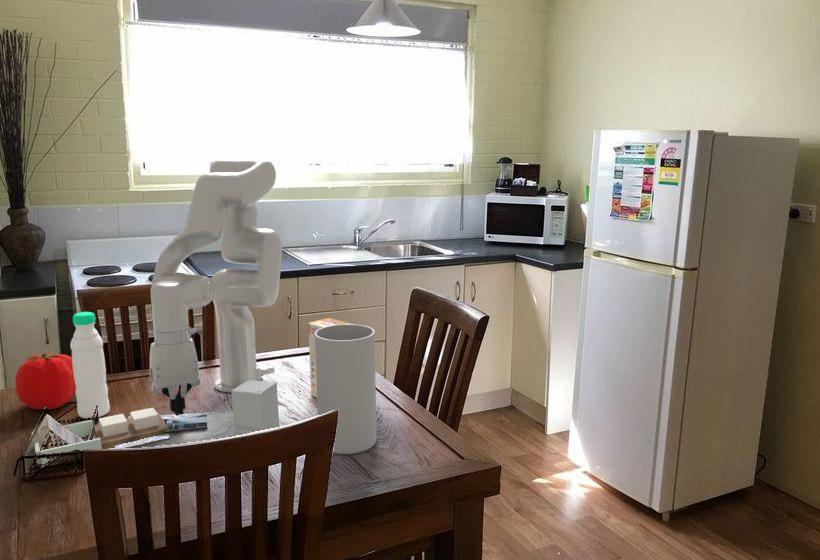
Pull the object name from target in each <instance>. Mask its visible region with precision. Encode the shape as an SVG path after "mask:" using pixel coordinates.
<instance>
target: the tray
mask: <svg viewBox="0 0 820 560" xmlns="http://www.w3.org/2000/svg"><path fill="white" fill-rule="evenodd" d="M93 422H94V421H93V419H89V420H88V419H87V420H83V421H78V422H74V423H70V424H64V425H62V426H63V427H64V428H66V429H68V430H69V431H71V432H72V433H74V434H76V435H78V436H81V437H85V435H88V434H89V432H90V429H91V427H92V425H94V423H93ZM33 432H34V431H31V435H32V434H33ZM49 434H50V436H51V437H53V436H54V435H53V433H51V432H50V433H49ZM76 449H77V450H86V449H102V445H101V438H96V437H95V435H94V437H93V439H92V440H87V441H82V442H78V443H73V444H68V445H64V446H59V447H54V448H50V449H45V450H41V451H40V447H39V443H38V442H37V443H36V444H35V452H36V455H42V454H52V453H61V452H69V451H73V450H76ZM35 452H34V453H35ZM49 460H50V459H46V458H40V459H37V461H36V464H37V463H38V464H45V463H47V462H48V461H49Z"/></svg>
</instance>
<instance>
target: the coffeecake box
mask: <svg viewBox="0 0 820 560" xmlns="http://www.w3.org/2000/svg"><path fill="white" fill-rule="evenodd" d="M307 324H308V345H309V346H308V348H309V372H310V373H309V374H310V396H312V397H313V398H317V381H316V354H315V332H316V331H317V330H318V329H320V328H323V327H327V326H332V325H341V324H351V323H348V322H346V321H343V320H342V321H341V320H338V319H333V318H330V317H329V318H328V317H327V318H323V319H319V320H315V321H311V322H308V323H307Z"/></svg>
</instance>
